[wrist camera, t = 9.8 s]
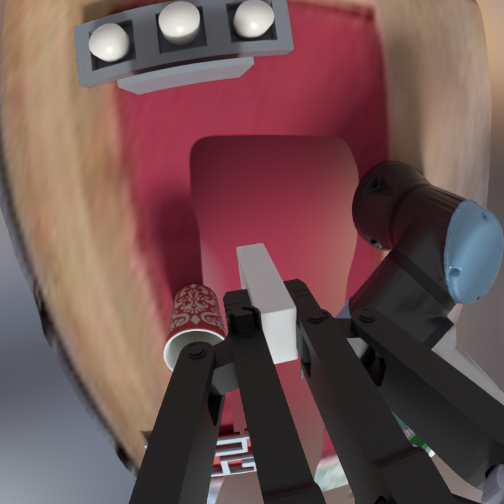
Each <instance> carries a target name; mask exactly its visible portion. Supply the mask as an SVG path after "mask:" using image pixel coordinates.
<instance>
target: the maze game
mask: <svg viewBox="0 0 504 504" xmlns="http://www.w3.org/2000/svg"><path fill="white" fill-rule="evenodd" d="M144 446H145V448H146V449H147V446H148V443H145V444H144ZM252 471H257V470H256V466H255V461H254V457H253V452H252V447H251V443H250V438H249V433H248V429H247V428H246V429H245V435H240V432H234V434H227V435H219V436H218V440H217V446H216V451H215V457H214V463H213V469H212V474H211V477H213V476H222V475H230V474H239V473H246V472H252Z"/></svg>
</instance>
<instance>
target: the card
mask: <svg viewBox="0 0 504 504" xmlns="http://www.w3.org/2000/svg"><path fill="white" fill-rule="evenodd" d="M253 64H254V59H253V57H243V58H233V59H224V60H216V61H209V62H202V63H195V64H189V65H183V66H177V67H172V68H167V69H162V70H157V71H152V72H148V73H143V74H139V75H135V76H131V77H127V78H123V79H119V80H117V83H118V87H119V88H122V89H125V90H127V91H130V92H133V93H135V94H138V95H139V94H143V93H148V92H152V91H157V90H162V89H167V88H172V87H177V86H183V85H189V84H195V83H201V82H207V81H214V80H222V79H230V78H238V77H240V76H241V75H242V74H243V73H245V72H246V71H247V70H248V69H249V68H250V67H251V66H252V65H253Z"/></svg>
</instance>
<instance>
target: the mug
mask: <svg viewBox="0 0 504 504" xmlns="http://www.w3.org/2000/svg"><path fill="white" fill-rule="evenodd" d="M225 338H226V332H225V328H224V324H223V320H222V316H221V312H220V308H219V304H218V300H217V297H216V295H215V293H214V292H213V291H212V290H211V289H209V288H208V287H206V286H204V285H200V284H191V285H187V286H185V287H183V288H181V289H180V290H179V291H178V292H177V294H176V296H175V299H174V303H173V309H172V314H171V319H170V325H169V329H168V335H167V340H166V343H165V346H164V348H163V358H164V361H165V363H166V365H167V366H168V368H169V369H170V370H171V371H173V370H174V367H175V365H176V362H177V359H178V356H179V354H180V351H181V350H182V348H183V347H184V346H186V345H187V344H189V343H192V342H197V341H203V342H207V343H209V344H211V345H212V346H213V345H215V344H217V343H219V342H221V341H223V340H224V339H225Z"/></svg>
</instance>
